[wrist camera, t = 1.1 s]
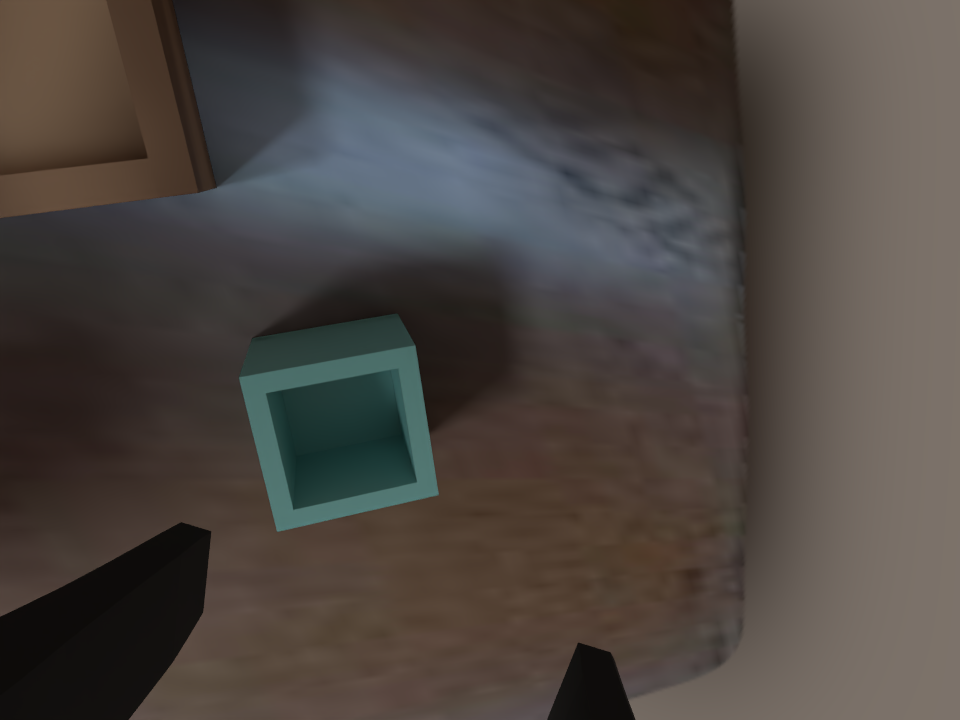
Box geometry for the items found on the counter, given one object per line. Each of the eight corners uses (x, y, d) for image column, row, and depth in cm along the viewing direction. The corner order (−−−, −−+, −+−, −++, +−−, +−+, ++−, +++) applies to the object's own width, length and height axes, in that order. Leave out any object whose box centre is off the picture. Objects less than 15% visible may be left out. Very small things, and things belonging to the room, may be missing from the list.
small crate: (283, 467, 24) (277, 531, 20) (252, 337, 22) (238, 377, 18) (417, 439, 25) (438, 494, 21) (396, 312, 23) (415, 345, 19)
